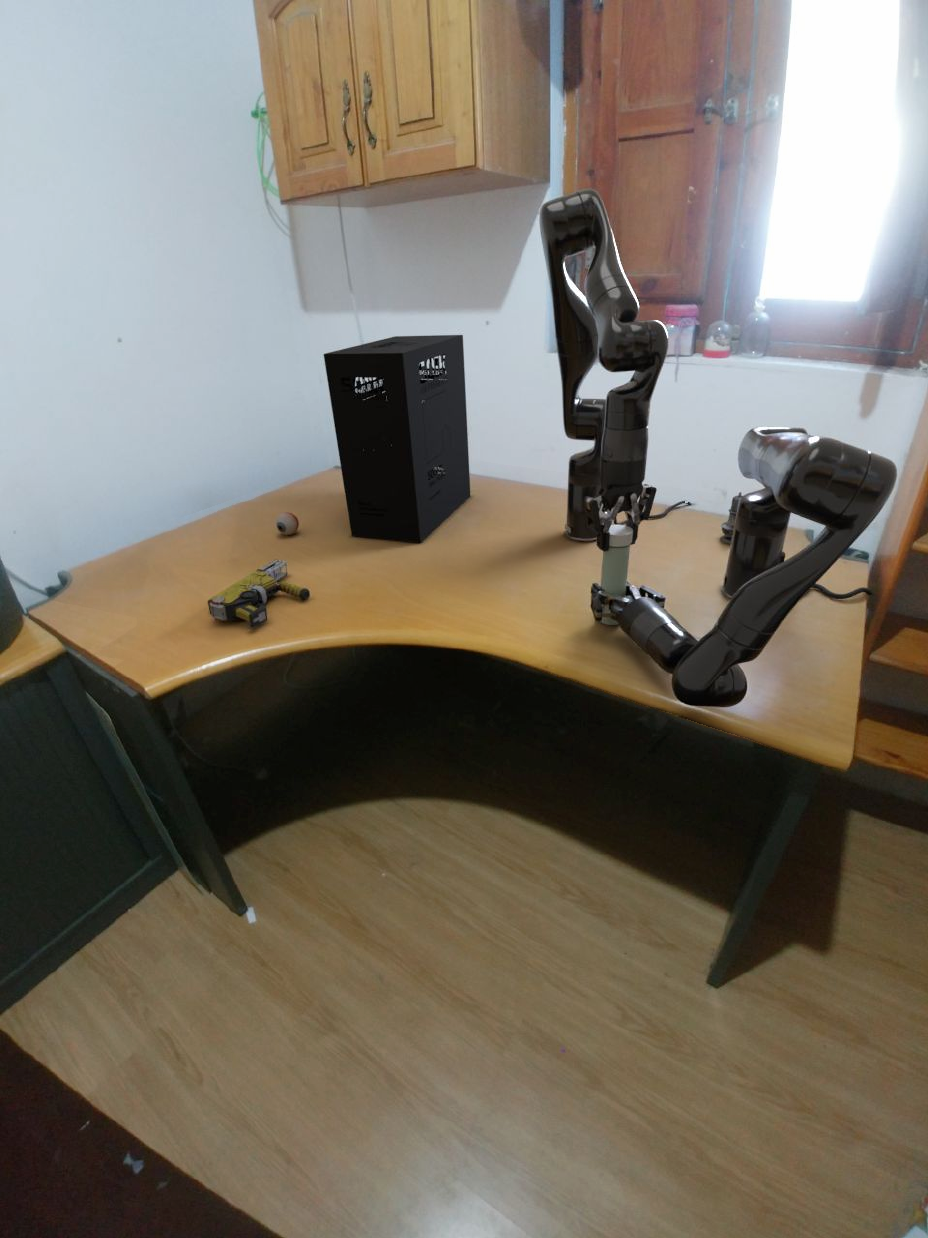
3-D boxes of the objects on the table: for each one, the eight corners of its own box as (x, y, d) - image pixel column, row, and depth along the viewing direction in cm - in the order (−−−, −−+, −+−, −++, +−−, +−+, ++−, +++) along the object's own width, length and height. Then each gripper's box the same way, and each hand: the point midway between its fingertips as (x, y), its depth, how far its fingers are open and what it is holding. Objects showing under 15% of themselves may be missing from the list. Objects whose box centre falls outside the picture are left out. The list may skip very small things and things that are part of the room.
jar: (608, 627, 115) (615, 540, 106) (593, 617, 118) (598, 532, 109) (628, 621, 116) (636, 534, 107) (612, 610, 120) (619, 526, 111)
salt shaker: (746, 544, 143) (756, 496, 137) (720, 544, 145) (729, 495, 139) (742, 535, 148) (751, 488, 142) (716, 534, 150) (724, 487, 144)
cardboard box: (410, 491, 192) (395, 336, 169) (470, 495, 185) (462, 334, 162) (351, 535, 161) (323, 353, 139) (420, 542, 155) (402, 352, 132)
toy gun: (329, 568, 137) (273, 556, 141) (266, 615, 117) (202, 599, 121) (331, 586, 139) (275, 574, 143) (268, 635, 119) (205, 620, 123)
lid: (638, 541, 108) (639, 530, 107) (618, 549, 106) (619, 537, 105) (615, 533, 112) (616, 522, 111) (596, 540, 110) (596, 529, 109)
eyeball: (273, 537, 164) (268, 516, 161) (287, 528, 169) (282, 508, 166) (291, 539, 161) (286, 518, 158) (305, 530, 166) (301, 510, 163)
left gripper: (644, 442, 106) (635, 532, 115) (575, 454, 102) (571, 547, 110) (673, 451, 100) (661, 545, 109) (601, 465, 96) (595, 562, 104)
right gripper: (692, 601, 102) (641, 561, 116) (614, 616, 99) (572, 573, 113) (686, 639, 105) (638, 596, 120) (611, 654, 103) (571, 608, 117)
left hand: (616, 546), depth 110 cm, fingers closed on lid, 5 cm apart
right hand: (606, 585), depth 116 cm, fingers closed on jar, 4 cm apart
